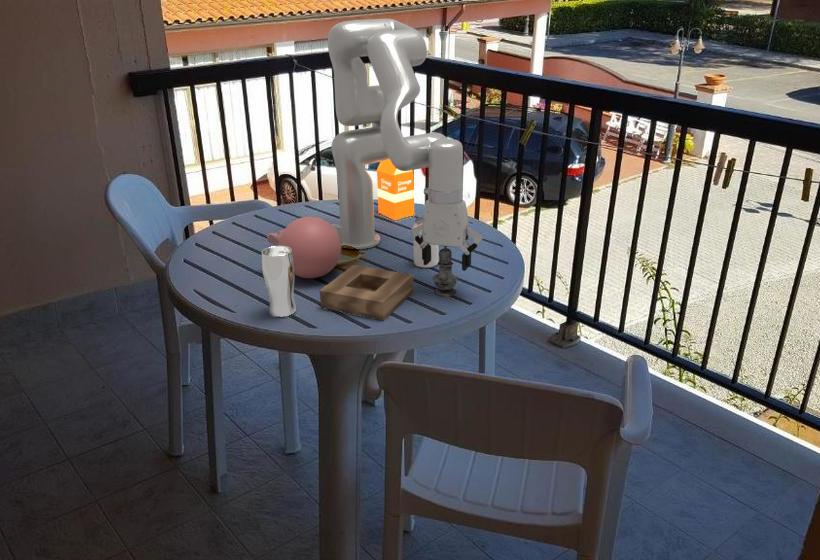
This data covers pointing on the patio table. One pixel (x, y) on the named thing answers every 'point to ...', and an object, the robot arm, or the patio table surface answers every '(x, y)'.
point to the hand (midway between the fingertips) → (446, 265)
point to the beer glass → (279, 279)
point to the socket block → (367, 292)
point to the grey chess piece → (445, 274)
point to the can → (418, 251)
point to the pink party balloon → (310, 245)
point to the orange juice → (395, 191)
